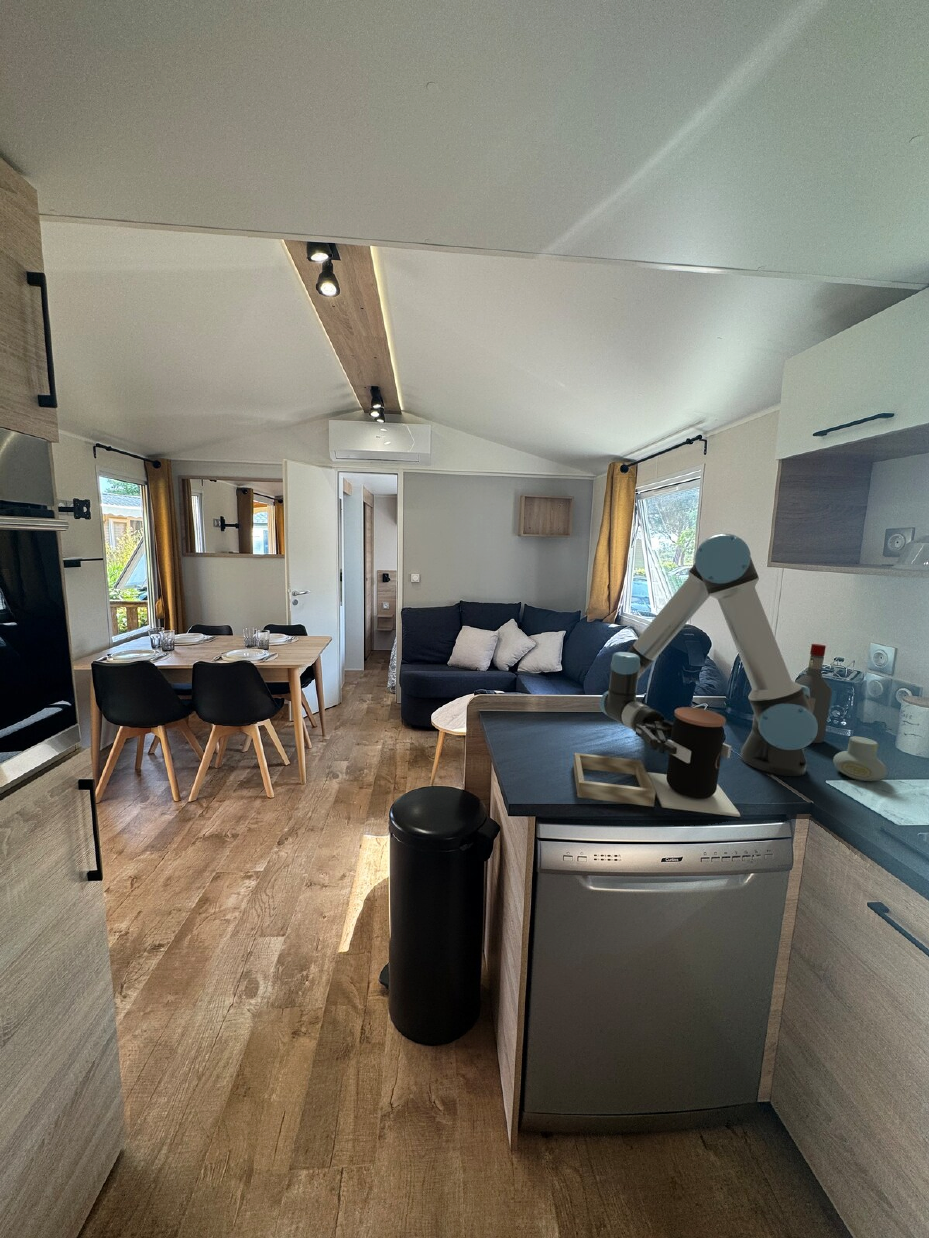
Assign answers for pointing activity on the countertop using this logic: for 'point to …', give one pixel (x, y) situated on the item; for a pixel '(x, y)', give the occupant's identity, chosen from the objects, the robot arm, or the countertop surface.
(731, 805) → the cream mat
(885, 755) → the countertop surface
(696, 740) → the coffee jar
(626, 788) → the birch corral
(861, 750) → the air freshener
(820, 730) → the liquor
